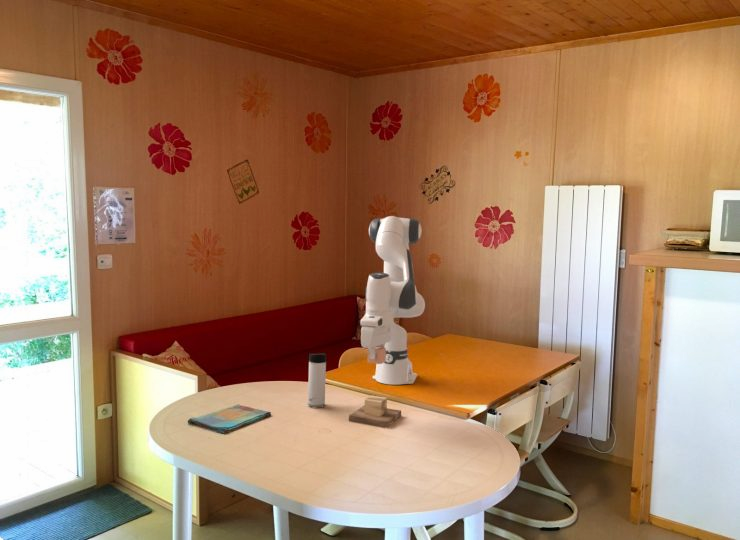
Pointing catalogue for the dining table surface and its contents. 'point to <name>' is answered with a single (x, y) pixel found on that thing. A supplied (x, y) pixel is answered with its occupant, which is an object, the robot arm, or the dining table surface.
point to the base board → (375, 417)
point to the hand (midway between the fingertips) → (376, 357)
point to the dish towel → (229, 418)
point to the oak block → (375, 406)
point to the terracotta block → (377, 356)
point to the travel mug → (316, 380)
